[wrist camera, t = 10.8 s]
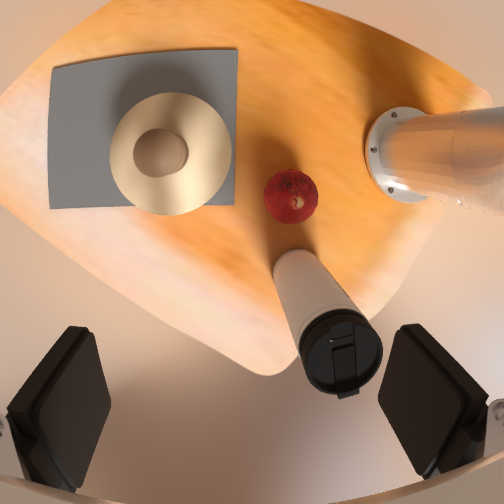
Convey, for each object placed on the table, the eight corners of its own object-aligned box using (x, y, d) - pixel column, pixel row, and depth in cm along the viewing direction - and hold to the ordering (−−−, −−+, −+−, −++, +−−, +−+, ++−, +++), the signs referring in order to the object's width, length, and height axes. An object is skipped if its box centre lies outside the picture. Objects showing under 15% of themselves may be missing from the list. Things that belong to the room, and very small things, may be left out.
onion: (254, 177, 37) (260, 182, 30) (300, 162, 37) (318, 163, 29) (269, 223, 39) (279, 240, 31) (314, 208, 39) (335, 221, 31)
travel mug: (277, 301, 42) (311, 408, 23) (268, 253, 40) (301, 341, 21) (323, 290, 42) (385, 387, 23) (317, 243, 40) (387, 318, 21)
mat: (238, 51, 33) (238, 50, 32) (233, 204, 38) (233, 205, 37) (54, 70, 31) (52, 69, 30) (52, 208, 36) (49, 209, 36)
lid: (233, 93, 29) (234, 79, 23) (230, 213, 32) (230, 226, 26) (114, 98, 28) (91, 88, 22) (114, 214, 31) (92, 227, 26)
